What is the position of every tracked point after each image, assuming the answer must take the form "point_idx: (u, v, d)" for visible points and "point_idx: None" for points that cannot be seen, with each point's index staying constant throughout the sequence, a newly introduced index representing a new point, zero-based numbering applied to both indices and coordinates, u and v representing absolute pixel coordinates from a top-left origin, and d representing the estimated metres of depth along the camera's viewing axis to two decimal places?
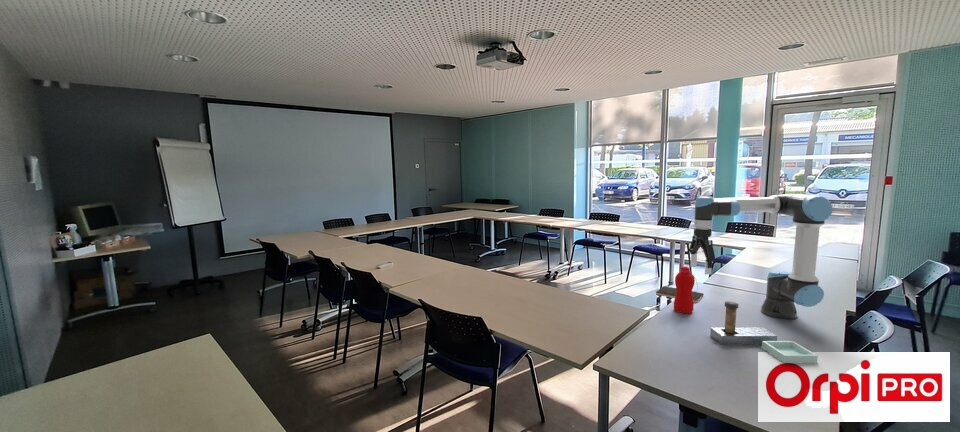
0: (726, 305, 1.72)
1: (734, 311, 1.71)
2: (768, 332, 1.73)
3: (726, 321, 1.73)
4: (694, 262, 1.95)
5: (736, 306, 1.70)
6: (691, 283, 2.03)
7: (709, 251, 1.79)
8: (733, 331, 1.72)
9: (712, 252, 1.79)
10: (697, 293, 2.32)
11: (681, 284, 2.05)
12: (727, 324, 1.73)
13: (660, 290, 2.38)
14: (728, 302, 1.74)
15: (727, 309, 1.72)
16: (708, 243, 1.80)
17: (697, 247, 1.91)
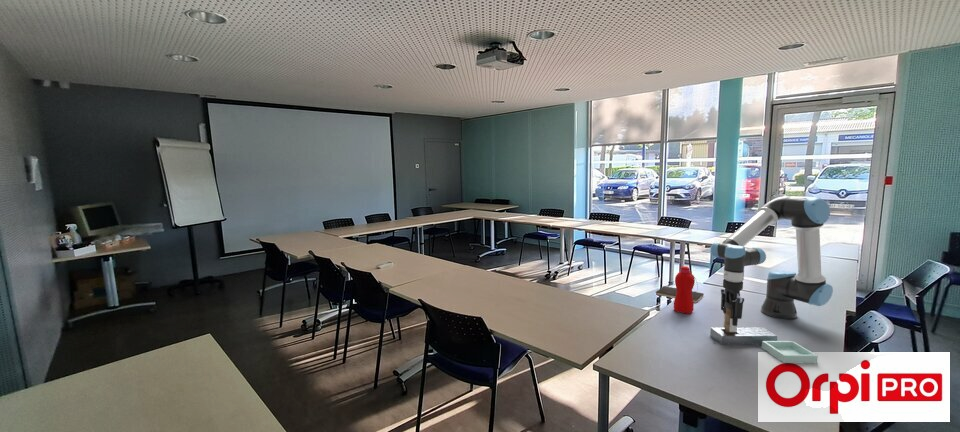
0: (726, 305, 1.72)
1: None
2: (768, 332, 1.73)
3: (726, 321, 1.73)
4: None
5: None
6: (691, 283, 2.03)
7: (737, 309, 1.67)
8: None
9: (740, 311, 1.67)
10: (697, 293, 2.32)
11: (681, 284, 2.05)
12: (727, 324, 1.73)
13: (660, 290, 2.38)
14: (728, 302, 1.74)
15: (727, 309, 1.72)
16: (739, 301, 1.66)
17: None
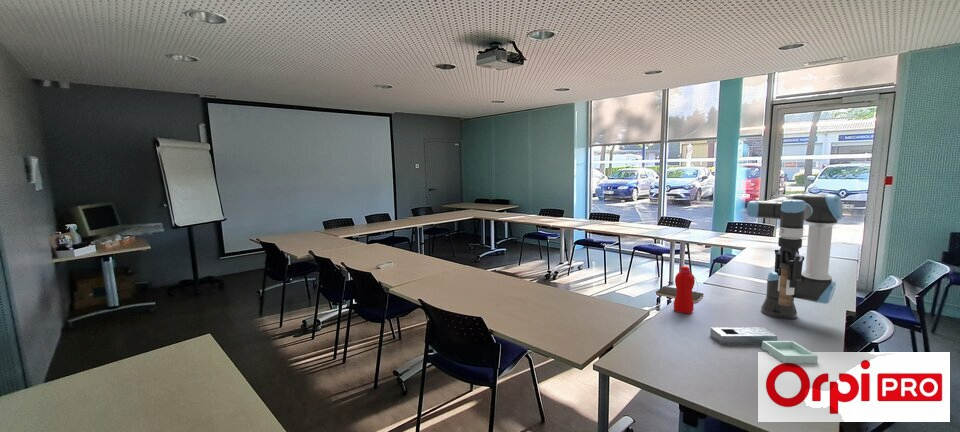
0: (782, 266, 1.56)
1: None
2: (768, 332, 1.73)
3: (781, 283, 1.58)
4: None
5: None
6: (691, 283, 2.03)
7: (796, 269, 1.51)
8: (790, 295, 1.56)
9: (799, 270, 1.51)
10: (697, 293, 2.32)
11: (681, 284, 2.05)
12: (782, 287, 1.57)
13: (660, 290, 2.38)
14: (784, 263, 1.58)
15: (783, 270, 1.57)
16: (798, 260, 1.50)
17: None
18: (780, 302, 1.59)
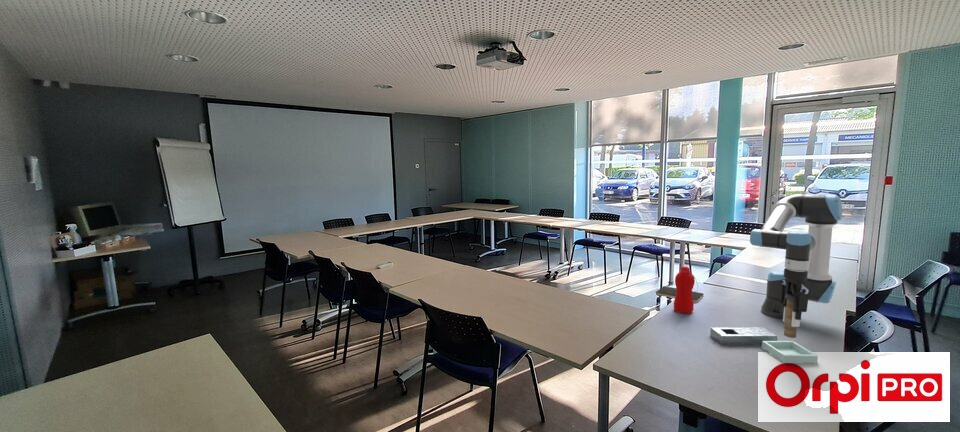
0: (788, 298, 1.56)
1: None
2: (768, 332, 1.73)
3: (787, 315, 1.57)
4: None
5: None
6: (691, 283, 2.03)
7: (802, 302, 1.51)
8: None
9: (805, 303, 1.51)
10: (697, 293, 2.32)
11: (681, 284, 2.05)
12: (788, 318, 1.57)
13: (660, 290, 2.38)
14: (789, 294, 1.58)
15: (788, 301, 1.57)
16: (804, 293, 1.50)
17: None
18: (785, 333, 1.58)
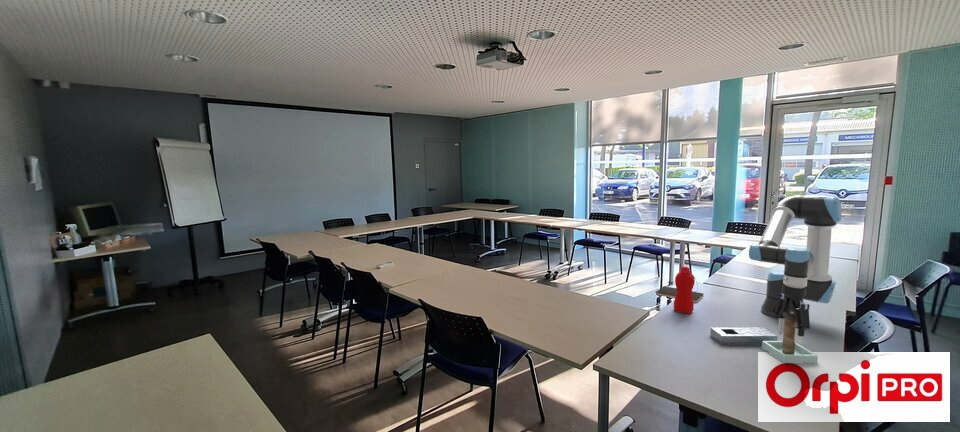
0: (786, 316, 1.58)
1: (795, 322, 1.56)
2: (768, 332, 1.73)
3: (785, 333, 1.59)
4: (783, 328, 1.63)
5: None
6: (691, 283, 2.03)
7: (803, 317, 1.51)
8: (794, 344, 1.58)
9: (807, 319, 1.50)
10: (697, 293, 2.32)
11: (681, 284, 2.05)
12: (786, 336, 1.58)
13: (660, 290, 2.38)
14: (787, 312, 1.59)
15: (786, 320, 1.58)
16: (804, 308, 1.51)
17: (787, 308, 1.60)
18: (784, 351, 1.60)
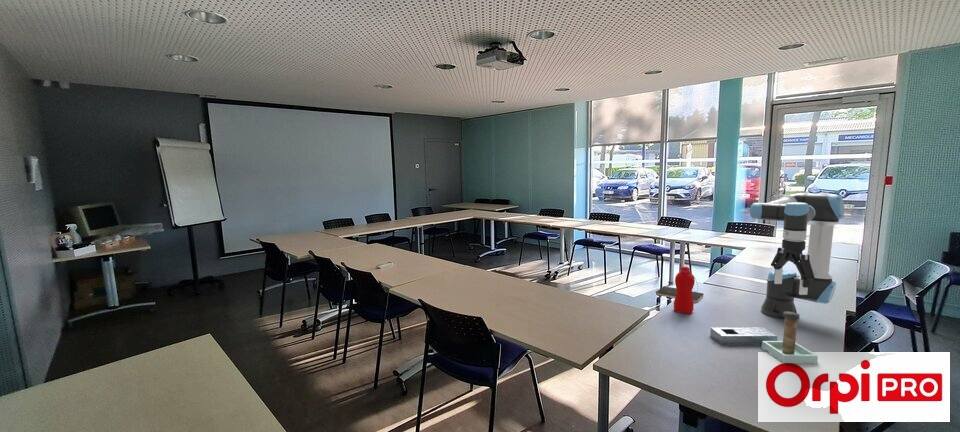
0: (786, 316, 1.57)
1: (795, 322, 1.56)
2: (768, 332, 1.73)
3: (785, 333, 1.59)
4: (779, 278, 1.67)
5: (797, 317, 1.55)
6: (691, 283, 2.03)
7: (806, 268, 1.51)
8: (794, 344, 1.58)
9: (810, 269, 1.51)
10: (697, 293, 2.32)
11: (681, 284, 2.05)
12: (786, 336, 1.58)
13: (660, 291, 2.38)
14: (787, 312, 1.59)
15: (787, 320, 1.58)
16: (804, 258, 1.52)
17: (784, 261, 1.63)
18: (784, 351, 1.60)
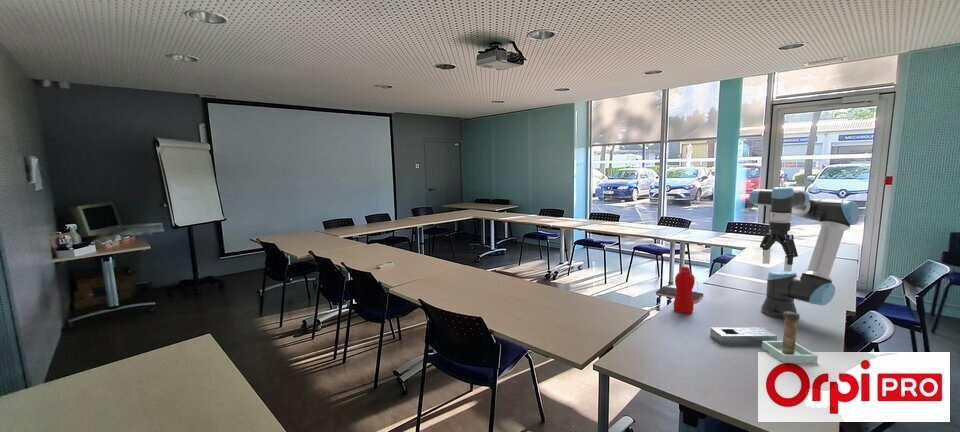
0: (786, 316, 1.57)
1: (795, 322, 1.56)
2: (768, 332, 1.73)
3: (785, 333, 1.59)
4: (767, 258, 1.80)
5: (797, 317, 1.55)
6: (691, 283, 2.03)
7: (790, 246, 1.65)
8: (794, 344, 1.58)
9: (794, 247, 1.64)
10: (697, 293, 2.32)
11: (681, 284, 2.05)
12: (786, 336, 1.58)
13: (660, 291, 2.38)
14: (787, 312, 1.59)
15: (787, 320, 1.58)
16: (789, 238, 1.66)
17: (772, 242, 1.77)
18: (784, 351, 1.60)
